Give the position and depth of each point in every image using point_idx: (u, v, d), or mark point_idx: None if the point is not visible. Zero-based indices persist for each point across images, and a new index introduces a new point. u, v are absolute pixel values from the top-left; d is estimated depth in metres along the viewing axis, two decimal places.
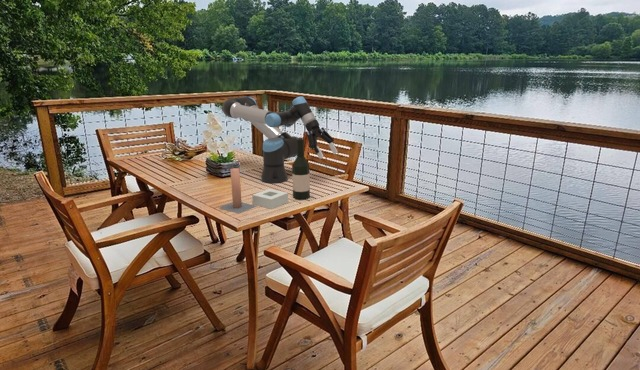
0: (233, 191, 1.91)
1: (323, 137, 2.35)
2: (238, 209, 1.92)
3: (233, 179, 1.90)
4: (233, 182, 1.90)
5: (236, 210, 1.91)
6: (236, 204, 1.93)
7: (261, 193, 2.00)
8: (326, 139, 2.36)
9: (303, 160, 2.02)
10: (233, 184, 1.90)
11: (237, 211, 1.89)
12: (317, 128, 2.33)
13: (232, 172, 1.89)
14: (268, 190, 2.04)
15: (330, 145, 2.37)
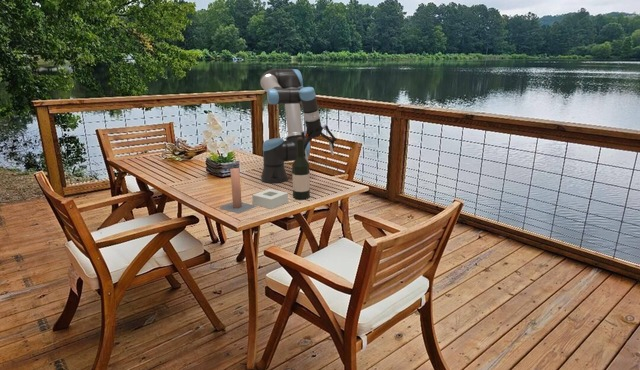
0: (233, 191, 1.91)
1: (323, 136, 2.13)
2: (238, 209, 1.92)
3: (233, 179, 1.90)
4: (233, 182, 1.90)
5: (236, 210, 1.91)
6: (236, 204, 1.93)
7: (261, 193, 2.00)
8: (326, 138, 2.13)
9: (303, 160, 2.02)
10: (233, 184, 1.90)
11: (237, 211, 1.89)
12: (317, 128, 2.09)
13: (232, 172, 1.89)
14: (268, 190, 2.04)
15: (329, 144, 2.16)
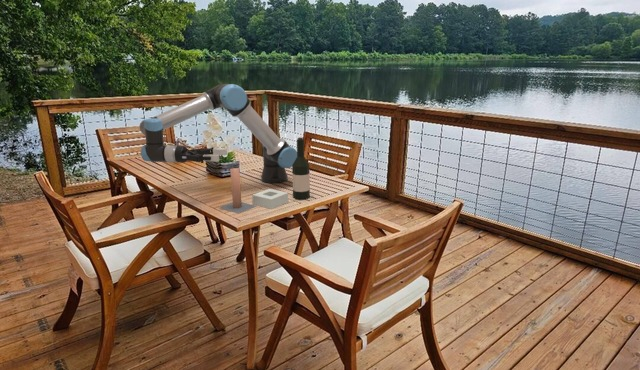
0: (233, 191, 1.91)
1: None
2: (238, 209, 1.92)
3: (233, 179, 1.90)
4: (233, 182, 1.90)
5: (236, 210, 1.91)
6: (236, 204, 1.93)
7: (261, 193, 2.00)
8: None
9: (303, 160, 2.02)
10: (233, 184, 1.90)
11: (237, 211, 1.89)
12: None
13: (232, 172, 1.89)
14: (268, 190, 2.04)
15: None
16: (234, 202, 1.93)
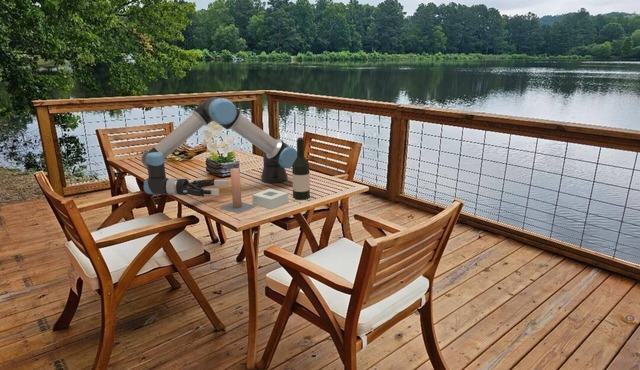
0: (233, 191, 1.91)
1: None
2: (238, 209, 1.92)
3: (233, 179, 1.90)
4: (233, 182, 1.90)
5: (236, 210, 1.91)
6: (236, 204, 1.93)
7: (261, 193, 2.00)
8: None
9: (303, 160, 2.02)
10: (233, 184, 1.90)
11: (237, 211, 1.89)
12: None
13: (232, 172, 1.89)
14: (268, 190, 2.04)
15: None
16: (234, 202, 1.93)
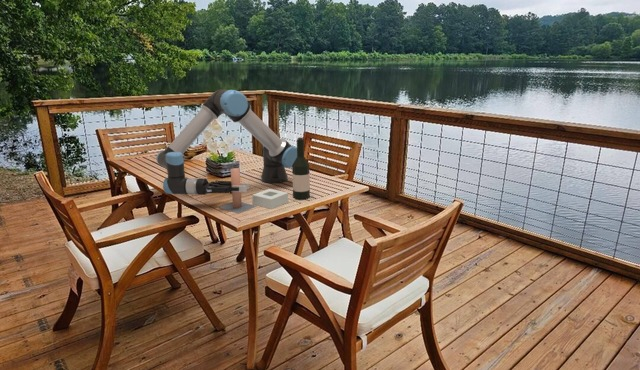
0: None
1: None
2: (238, 209, 1.92)
3: (233, 179, 1.90)
4: (233, 182, 1.90)
5: (236, 210, 1.91)
6: (236, 204, 1.93)
7: (261, 193, 2.00)
8: None
9: (303, 160, 2.02)
10: (233, 184, 1.90)
11: (237, 211, 1.89)
12: None
13: (233, 172, 1.89)
14: (268, 190, 2.04)
15: None
16: (234, 202, 1.93)
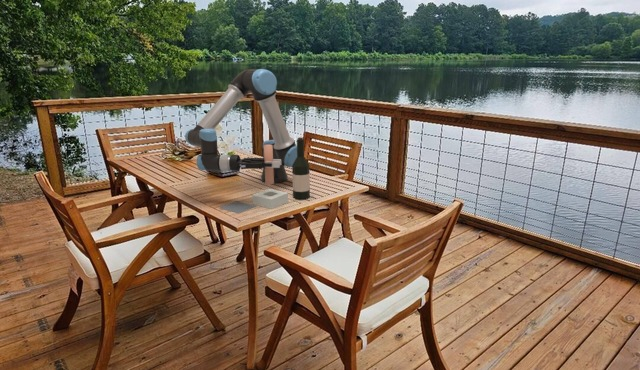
0: None
1: None
2: (238, 209, 1.92)
3: (266, 155, 1.92)
4: (266, 158, 1.92)
5: (236, 210, 1.91)
6: (269, 180, 1.95)
7: (261, 193, 2.00)
8: None
9: (303, 160, 2.02)
10: (266, 160, 1.92)
11: (237, 211, 1.89)
12: None
13: (266, 148, 1.91)
14: (268, 190, 2.04)
15: None
16: (267, 178, 1.95)
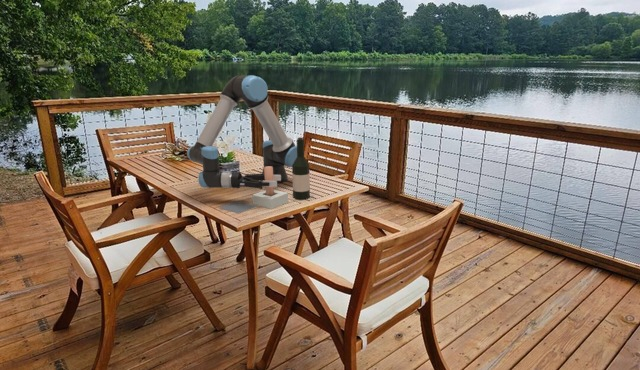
0: (267, 188, 1.96)
1: None
2: (238, 209, 1.92)
3: (267, 177, 1.95)
4: (267, 180, 1.95)
5: (236, 210, 1.91)
6: None
7: (261, 193, 2.00)
8: None
9: (303, 160, 2.02)
10: None
11: (237, 211, 1.89)
12: None
13: (266, 170, 1.94)
14: None
15: None
16: None
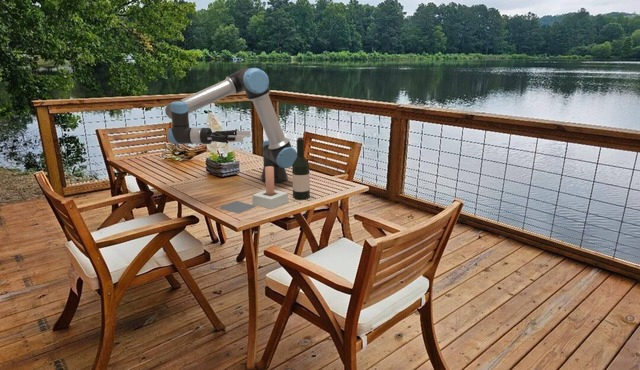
0: (267, 188, 1.96)
1: None
2: (238, 209, 1.92)
3: (268, 177, 1.95)
4: (267, 180, 1.95)
5: (236, 210, 1.91)
6: None
7: (261, 193, 2.00)
8: None
9: (303, 160, 2.02)
10: (267, 181, 1.95)
11: (237, 211, 1.89)
12: None
13: (267, 170, 1.94)
14: None
15: None
16: None
